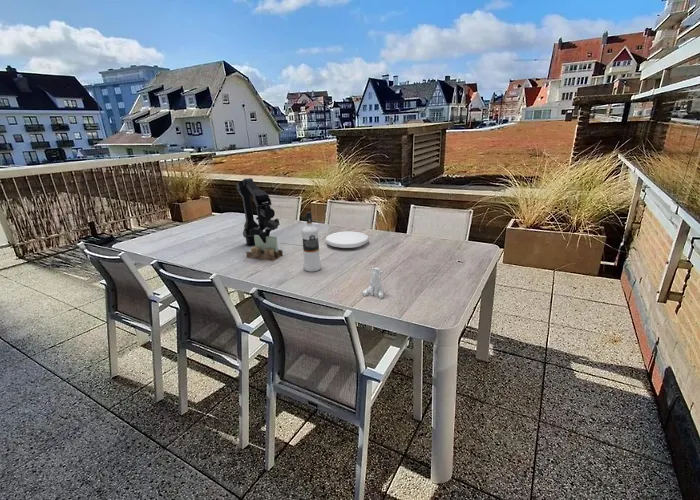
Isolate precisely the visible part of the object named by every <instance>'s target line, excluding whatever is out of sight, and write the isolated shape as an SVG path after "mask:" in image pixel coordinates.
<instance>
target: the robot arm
mask: <svg viewBox="0 0 700 500" xmlns="http://www.w3.org/2000/svg"><path fill="white" fill-rule="evenodd" d="M235 187H236V189H237V192H238V194H239V195H240V197H241V198H242V204H243V211H244V215H245V222H244V225H243V227H244V228H243V232H242V236H243V237H244V239H245V242H246V245H247V246H249V247H250V246H251V247H255V240H254V235H259V236H260V238H261V239H262V241H263V242H264V243H266V236H270V233H271V232H272V231H275V230H277V229H278V227H279V226H280V225H281V224H280V220H279V219H278V218H276V219H273V218H274V217H275V213H276V211H275V210H274V209H273V208H272V200H271V198H270V196H269V194H268V193H267V192H266V191H265V190H264V189H260V187H258V185H257V184H256V183H255V181H254V180H253V178H252V177H251V178H250V177H249V178H244V179H242V180H240V181H238V182H237V183H236V186H235ZM251 195H252V199H251ZM252 201H253V202H254V204H255V207H256V213H257V214H256V215H257V217H255V218H254V211H253V206H252ZM255 220H257V222H258V223H257V222H256V221H255Z"/></svg>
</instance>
